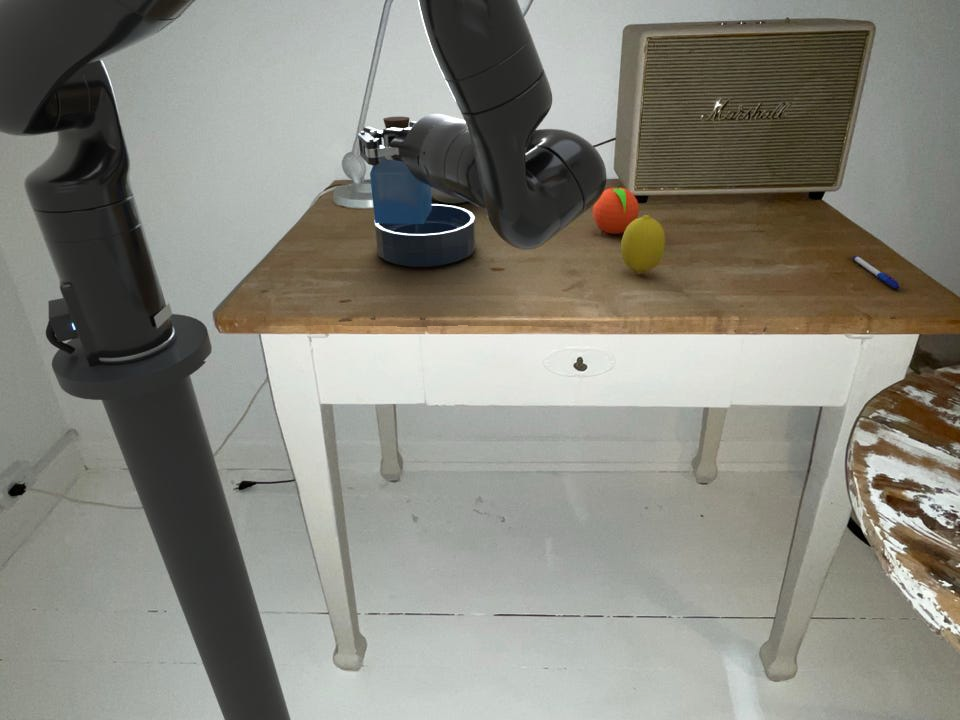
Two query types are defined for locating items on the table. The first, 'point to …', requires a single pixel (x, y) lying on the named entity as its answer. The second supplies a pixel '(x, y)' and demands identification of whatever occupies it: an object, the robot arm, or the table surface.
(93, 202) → the robot arm
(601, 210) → the clementine
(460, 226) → the bowl
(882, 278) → the blue and white marker
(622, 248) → the lemon
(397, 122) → the perfume bottle
